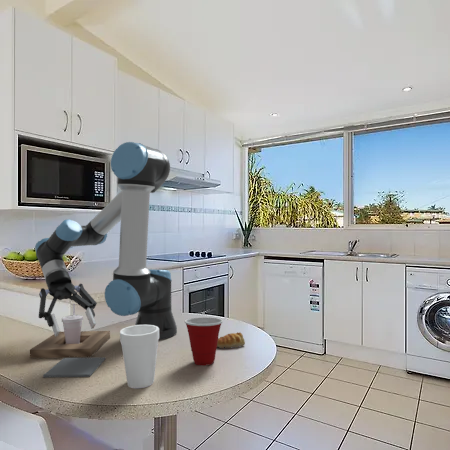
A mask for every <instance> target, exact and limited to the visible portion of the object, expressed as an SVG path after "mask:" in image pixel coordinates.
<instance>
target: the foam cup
mask: <svg viewBox="0 0 450 450" xmlns="http://www.w3.org/2000/svg"><path fill="white" fill-rule="evenodd" d="M158 339H159V328H158V327H157V326H154V325H135V324H134V325H129V326H126V327H123V328H121V329H120V330H119V341H120V344H121V350H122V357H123V363H124V370H125V377H126V382H127V386H128V387H129V388H131V389H143V388H148V387H150V386H151V385H153V384H154V382H155V375H156V374H155V373H156V367H157V366H156V365H157V354H158V347H159V340H160V339H159V340H158Z"/></svg>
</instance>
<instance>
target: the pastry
mask: <svg viewBox="0 0 450 450" xmlns="http://www.w3.org/2000/svg"><path fill="white" fill-rule="evenodd" d="M243 345H244V346H245V345H246V341H245V337H244V336H243V333H241V332H236V333H235V332H233V333H227V334H225V335H223V336H220V337H218V343H217V348H219V349H232V348H231V347H235V348H239V347H238V346H242V347H244V346H243ZM224 347H225V348H224Z"/></svg>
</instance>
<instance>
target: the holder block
mask: <svg viewBox="0 0 450 450" xmlns="http://www.w3.org/2000/svg"><path fill="white" fill-rule="evenodd" d="M110 338H111V332H110V330H87V331H86V330H81V335H80V344H66V340H65V333H64V331H60V332H59V335H58V336H57V337H55V335H54V333H53V334H52V335H50V336H49V337H48V338H46V339H44V340H43V341H41V342H39V343H38V344H36V345H35V346H34V347H31V348H30V349H29V359H53V358H55V359H57V358H59V359H60V358H62V359H63V358H92V356H94V354H96V352H97V351H99V350H100V349H101V348H102V346H103V345H105V344H106V343H107V342H108V341H109V340H110Z"/></svg>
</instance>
